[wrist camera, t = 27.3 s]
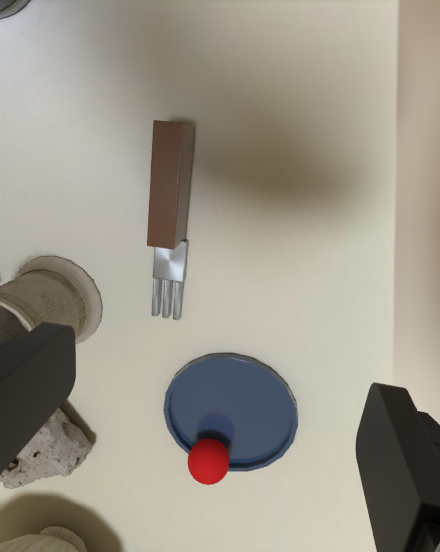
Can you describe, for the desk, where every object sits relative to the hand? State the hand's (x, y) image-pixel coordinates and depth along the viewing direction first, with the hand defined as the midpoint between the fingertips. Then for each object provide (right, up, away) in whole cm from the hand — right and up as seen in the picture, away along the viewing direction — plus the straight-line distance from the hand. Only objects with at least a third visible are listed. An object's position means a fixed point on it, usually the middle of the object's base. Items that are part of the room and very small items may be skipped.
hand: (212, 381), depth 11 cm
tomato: (-1, -17, +31) cm, 35 cm away
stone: (-21, -16, +37) cm, 45 cm away
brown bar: (-4, +7, +26) cm, 27 cm away
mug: (-19, -1, +32) cm, 37 cm away
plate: (+1, -12, +32) cm, 34 cm away
